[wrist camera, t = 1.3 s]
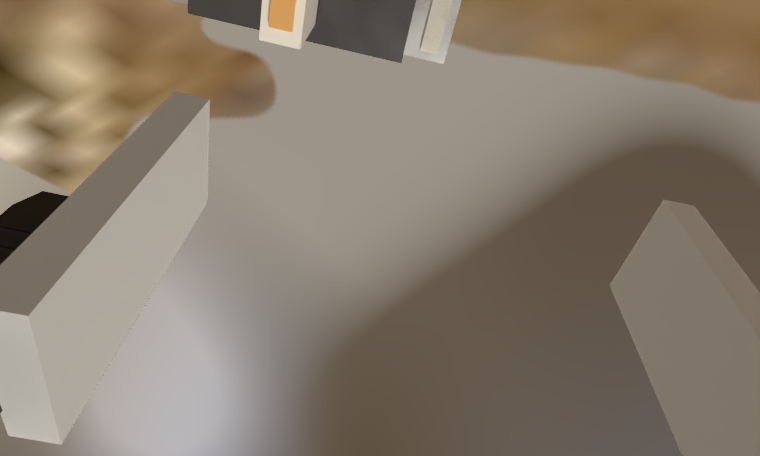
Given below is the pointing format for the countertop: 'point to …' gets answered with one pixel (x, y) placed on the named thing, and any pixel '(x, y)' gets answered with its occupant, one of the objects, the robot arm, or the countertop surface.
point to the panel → (359, 24)
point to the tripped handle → (287, 21)
